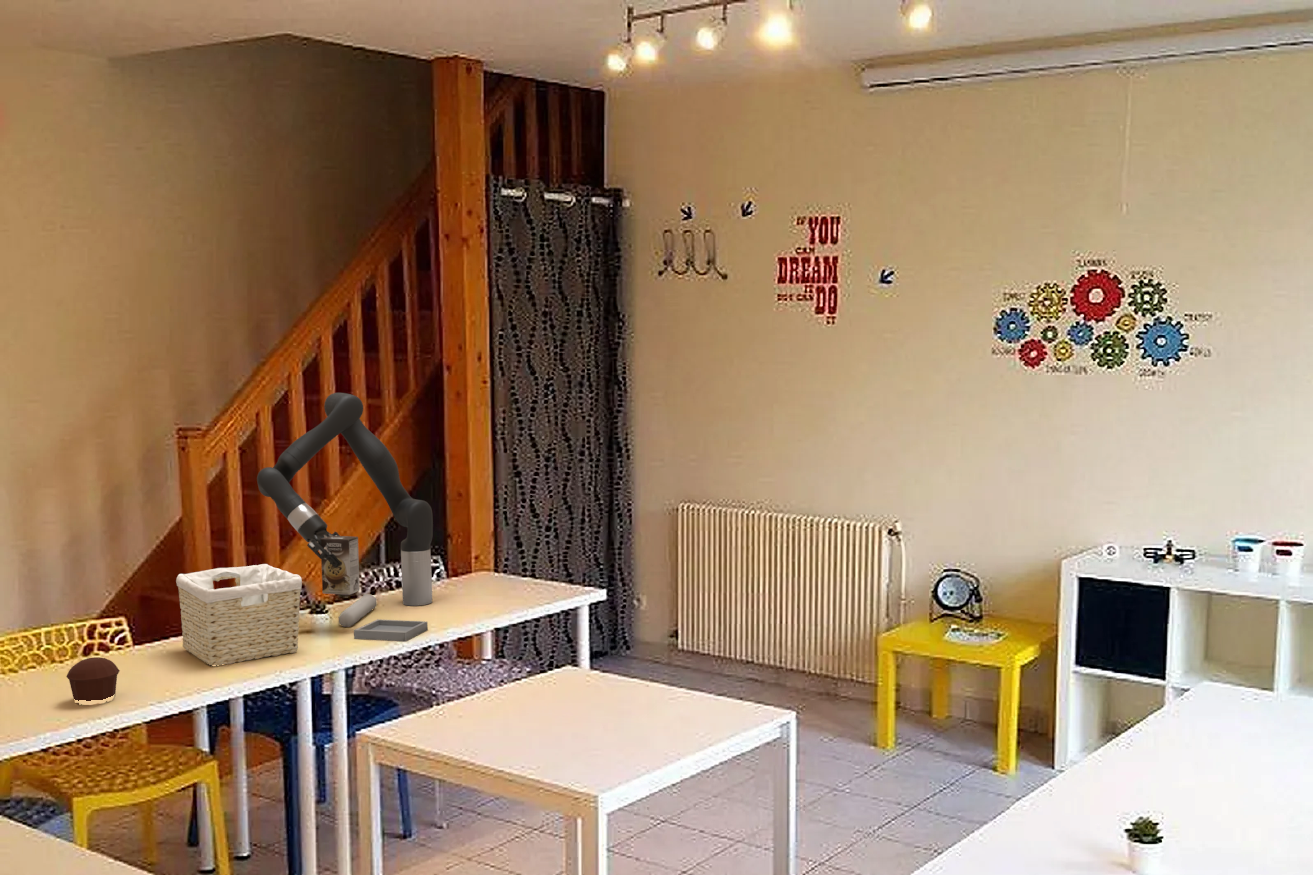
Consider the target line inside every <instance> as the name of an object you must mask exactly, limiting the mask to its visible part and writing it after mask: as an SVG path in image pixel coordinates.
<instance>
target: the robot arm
mask: <svg viewBox="0 0 1313 875" xmlns="http://www.w3.org/2000/svg"><path fill="white" fill-rule="evenodd" d="M323 409H324V413H325V415H326V417H325V419H324V420H323V421H321V422H320V423H319V424H317V425H316V426H315V427H314V428H312V429H311V430H309V431H306V433H304V434H303V435H301V436H300V437H298V438H297V439H296V440H294V441H293V442H292V443H291V444H289V446H287V448H286V449H285V450H284V451H283V452H282V453H281V454H280V456H278V459H277V461H276V464H275V465H274V466H273V467H272V466H271V467H270V466H267V467H264V468H262V469H261V470H259V471H258V473H257V477H256V481H257V486H258V491H259V492H260V493H261V495H263V496H264V497H267V498H271V500H273V502H274V503H275V505H276V508H277V509H278V511H279V512H280V513H282V515H283V517H285V519H287V520H288V522H289V524H290V525H291V526H292V527H293V528H294V529H295V531H297V533H298V534H299V535H300V536H301V537H302V538H303V539H304V540H305V542H307V547H308V549H310V550H311V551H312V553H314V555H316V556H317V557H318V558H319V559H320V560H321V559H323V558H324V559H326V560H328V561H329V562H330V563H331V564H332V565H333V566H334V567H335V568H338V567H339V566H340V565H341V562H340V561H339V560H338V559H337V558H336V556H335V555H334V554H332V552H331V551H330V550H329V548H328V545H326V546H325V547H324V548H323V547H322V546H321V540H320V539H321V538H327V537H332V536H341V535H340V534H339V532H338V531H334V532H333V533H330V532H329V531H328V530H327V528H328V524H327V523H326V521H325V520H324V519H323V518H322V517H321V516H320V515H319V514H318V513H317V512H316V511H315V510H314V508H312V507H311V506H310V505H309V504H308V503H307V502H306V501H305V500H304V499H303V498H302V497H301V496H300V495H299V494H298V493H297V492H296V491H295V490H294V488H293V487H292V485H291V484H290V482H291V481H292V479H293V478H294V476H296V474H297V473H298V472H299V471H300V470H301V469H303V467H304V466H305V465H306V464H307V463H308V462H309V461H311V459H312V458H313V457H314V456H316V455H317V454H318V453H319V451H320V450H322V449H323V448H324V447H326V446H327V445H328V444H329V443H330V442H331V441H332V440H334V439H335V438H336V437H338V436H339V435H340V434H341V435H342V436H343V438H344V439H345V440H346V442H347V443H348V445H349V447H350V448H351V450H352V452H353V453H354V455H355V456H356V458H357V459H358V461H359V463H360V464H361V466H362V467H363V469H364V470H365V472H366V473H367V475H368V476H369V478H370V479H371V481H372V482H373V483H374V485H375V486H376V488H377V489H378V490H379V492H380V494H381V495H382V496H383V498H384V500H385V501H386V503H387V505H388V508H389V509H390V511H391V513H392V515H393V517H394V518H395V520H396V522H397V523H398V524H399V525H400V526H402V527H404V528H406V529H407V533H406V534H407V535H406V538H405V539H403V540H402V541H401V542H400V562H401V564H400V565H401V586H402V587H401V590H402V594H401V595H402V604H403V605H405V606H410V607H411V606H413V607H414V606H416V607H417V606H424V605H429V604H432V603H433V579H432V578H433V577H432V574H433V573H432V557H431V554H432V553H431V543H432V541H433V533H434V532H433V530H434V524H433V523H434V522H433V520H434V519H433V510H432V506H431V505H430V504H429V503H428V502H427V501H425V500H424V499H423V500H422V499H415V498H413V497H411V496H410V494H409V493H408V491H407V489H406V488H405V487H404V486H403V484H402V482H401V479H400V478H401V477H400V472H399V467H398V464H397V461H396V459H395V458H394V456H393V455H392V453H391V452H390V451H389V449H388V448H387V446H386V445H385V444H384V443H383V442H382V441H381V440H380V439H379V438H378V437H377V436H376V435H375V434H374V433H372V431H370V430H369V428H367V426H365V424H364V423H363V422H362V420H361V419H360V418H361V417H362V415H363V413H364V405H363V401H362V400H361V399H360V398H359V397H358V396H357V395H353V394H350V393H346V392H333V393H330V394H329V395H328V396H327V397H326V399H325V401H324V408H323ZM326 550H327V551H326Z"/></svg>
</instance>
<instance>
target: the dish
mask: <svg viewBox="0 0 1313 875" xmlns="http://www.w3.org/2000/svg"><path fill="white" fill-rule="evenodd" d="M428 628H429V625H428V621H424V620H423V621H422V620H401V619H378V618H377V619H375V620H373V621H371V622H369V623H366V624H364V625H362V626H359V627H358V628H355V629H354V630H353V639H354V640H368V641H369V640H370V641H371V640H372V641H373V640H374V641H386V642H387V641H388V642H389V641H391V642H407V641H409V640H411V639H414V638H415V637H417V636H419V635H421V634H423V633H425V632H427V631H429V629H428Z"/></svg>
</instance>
